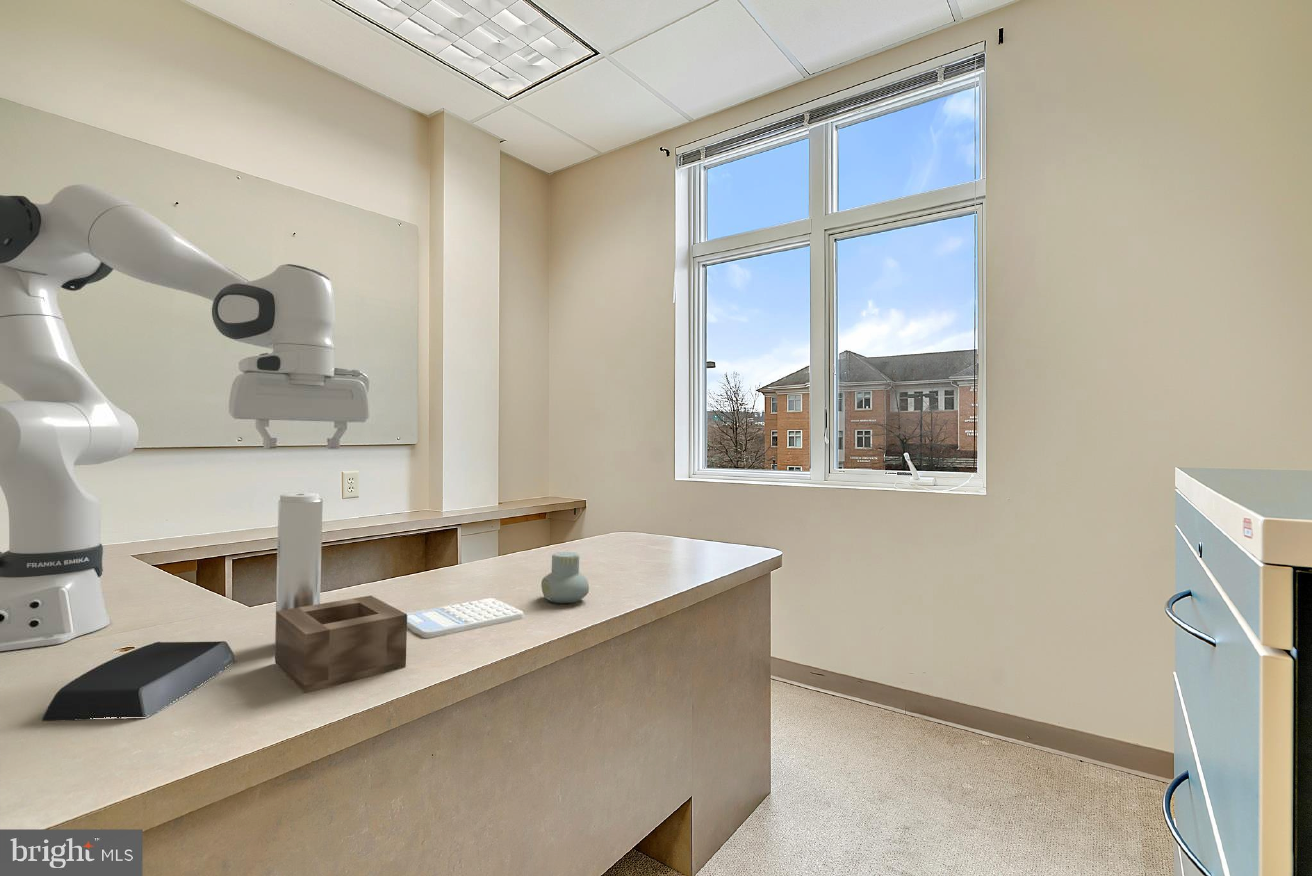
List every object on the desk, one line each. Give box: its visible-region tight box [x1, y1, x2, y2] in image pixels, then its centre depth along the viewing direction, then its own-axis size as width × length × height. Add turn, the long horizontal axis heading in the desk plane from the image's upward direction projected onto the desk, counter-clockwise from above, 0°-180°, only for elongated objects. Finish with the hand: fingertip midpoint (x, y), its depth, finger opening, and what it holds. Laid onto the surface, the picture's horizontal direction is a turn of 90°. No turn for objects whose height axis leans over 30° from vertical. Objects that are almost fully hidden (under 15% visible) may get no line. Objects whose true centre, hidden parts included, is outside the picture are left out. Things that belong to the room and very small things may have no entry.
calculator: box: [405, 597, 525, 639], centre depth 117 cm, size 13×20×2 cm, turn 133°
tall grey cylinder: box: [274, 492, 324, 648], centre depth 101 cm, size 6×6×25 cm
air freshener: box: [540, 551, 590, 604], centre depth 132 cm, size 11×8×10 cm
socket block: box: [274, 595, 408, 693], centre depth 93 cm, size 14×14×8 cm
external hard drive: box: [41, 640, 236, 722], centre depth 84 cm, size 13×19×4 cm
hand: (302, 448), depth 101 cm, fingers open, 8 cm apart
